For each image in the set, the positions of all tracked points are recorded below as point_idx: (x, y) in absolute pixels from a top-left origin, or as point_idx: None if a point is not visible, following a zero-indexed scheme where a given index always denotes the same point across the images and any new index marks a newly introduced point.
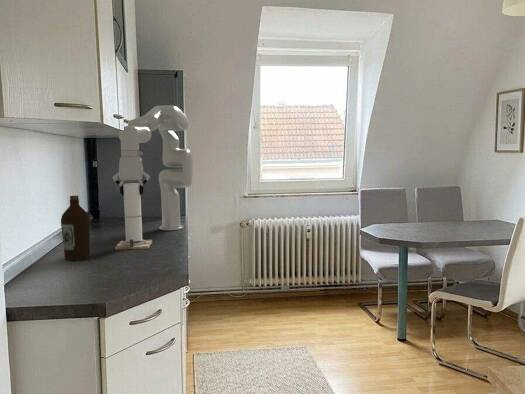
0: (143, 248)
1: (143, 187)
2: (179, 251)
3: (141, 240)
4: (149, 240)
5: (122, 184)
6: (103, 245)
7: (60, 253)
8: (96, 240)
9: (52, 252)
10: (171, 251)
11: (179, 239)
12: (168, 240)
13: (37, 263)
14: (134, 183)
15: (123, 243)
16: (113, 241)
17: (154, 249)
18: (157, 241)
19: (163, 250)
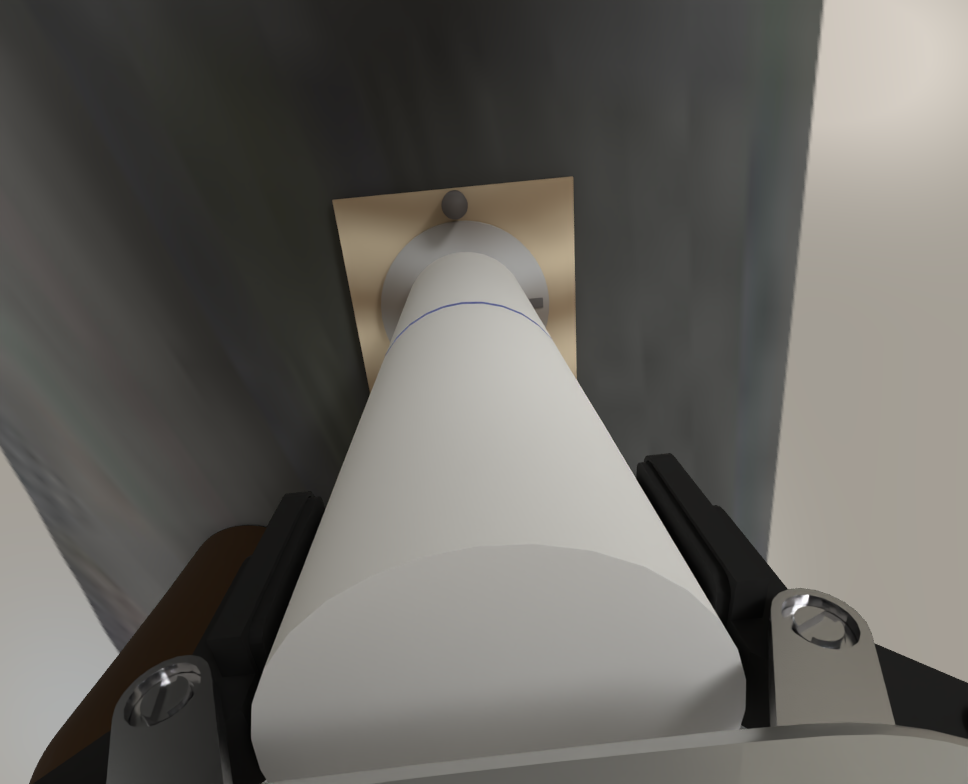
0: None
1: (773, 582)
2: (753, 460)
3: (509, 270)
4: (556, 206)
5: (240, 765)
6: (238, 281)
7: (90, 482)
8: (64, 68)
9: (20, 459)
10: (710, 459)
11: (778, 87)
12: (690, 125)
13: (123, 644)
14: (552, 604)
15: None
16: (245, 130)
17: (613, 411)
18: (607, 160)
19: (666, 436)
